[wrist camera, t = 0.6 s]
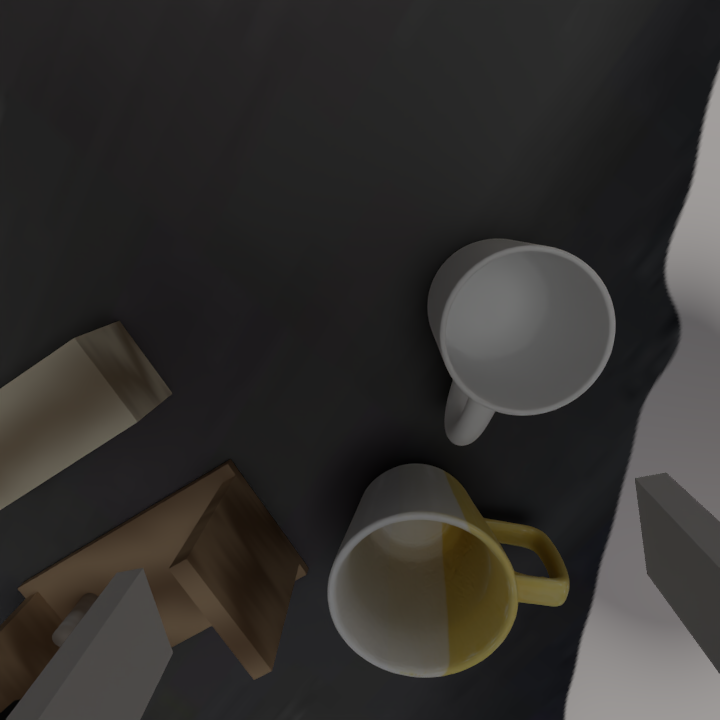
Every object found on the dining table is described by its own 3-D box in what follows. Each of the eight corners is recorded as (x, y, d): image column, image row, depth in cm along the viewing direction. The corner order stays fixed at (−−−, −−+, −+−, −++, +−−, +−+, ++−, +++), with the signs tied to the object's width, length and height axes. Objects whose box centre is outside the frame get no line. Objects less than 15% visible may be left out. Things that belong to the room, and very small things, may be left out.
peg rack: (23, 582, 44) (-92, 697, 34) (230, 459, 41) (175, 544, 30) (104, 678, 46) (18, 817, 35) (308, 567, 43) (281, 684, 32)
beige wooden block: (-31, 423, 42) (-99, 456, 36) (120, 320, 39) (74, 337, 33) (23, 489, 43) (-35, 532, 37) (173, 392, 40) (137, 421, 34)
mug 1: (498, 431, 40) (535, 504, 30) (385, 388, 39) (384, 446, 29) (577, 266, 37) (648, 284, 27) (456, 217, 36) (483, 217, 26)
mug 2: (324, 547, 42) (305, 651, 32) (365, 420, 40) (357, 489, 30) (503, 599, 43) (539, 718, 33) (554, 476, 40) (611, 564, 30)
